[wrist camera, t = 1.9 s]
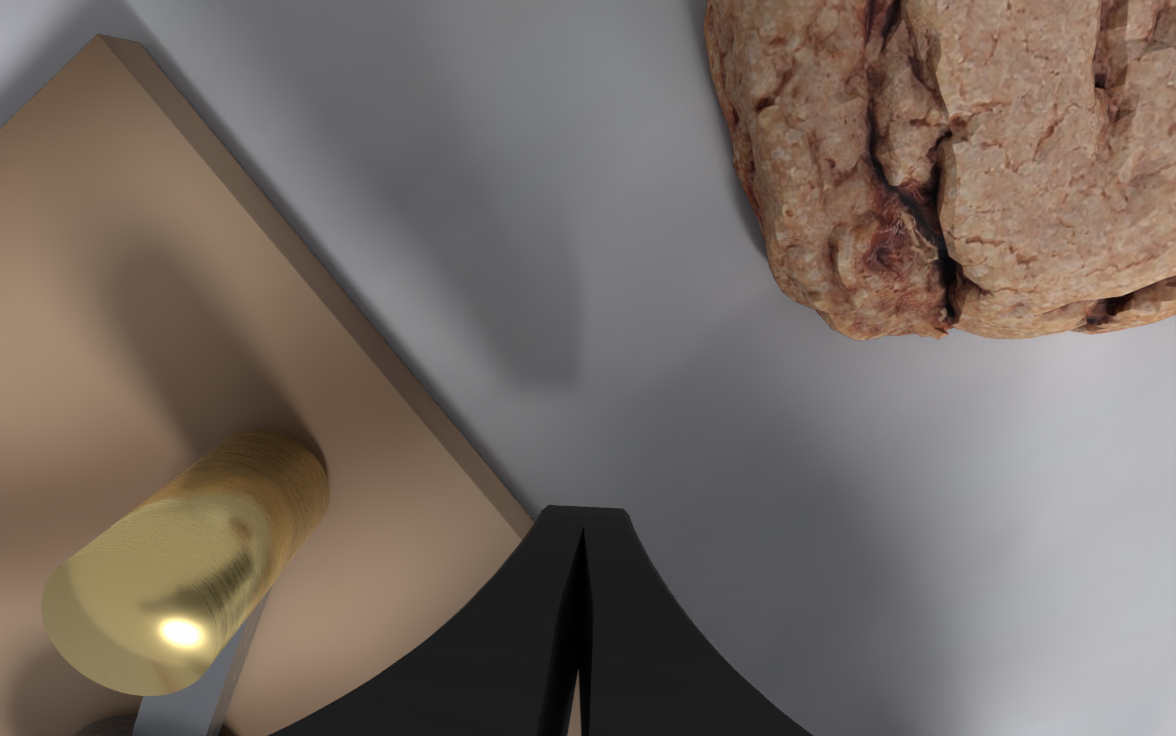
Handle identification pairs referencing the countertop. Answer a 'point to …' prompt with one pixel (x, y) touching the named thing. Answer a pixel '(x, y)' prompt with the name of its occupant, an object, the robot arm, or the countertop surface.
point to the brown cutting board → (206, 400)
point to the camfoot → (186, 583)
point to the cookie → (957, 159)
